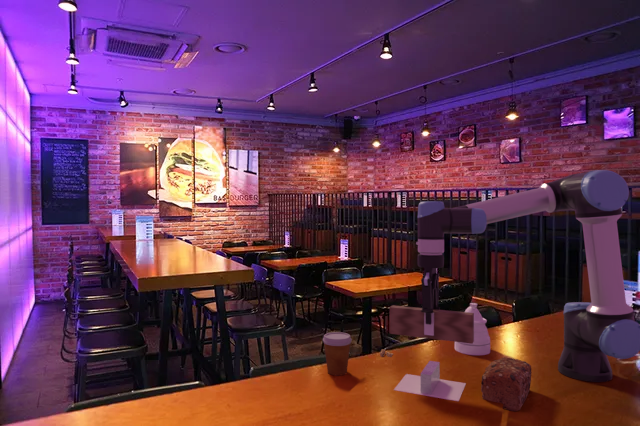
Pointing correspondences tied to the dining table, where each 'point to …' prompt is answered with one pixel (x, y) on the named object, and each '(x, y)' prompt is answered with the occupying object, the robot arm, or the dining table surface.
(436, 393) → the base plate
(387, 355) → the dice set
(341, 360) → the disposable coffee cup
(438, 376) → the steel ridge
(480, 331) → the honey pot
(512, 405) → the bread
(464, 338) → the walnut beam
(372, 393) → the dining table surface
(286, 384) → the dining table surface
